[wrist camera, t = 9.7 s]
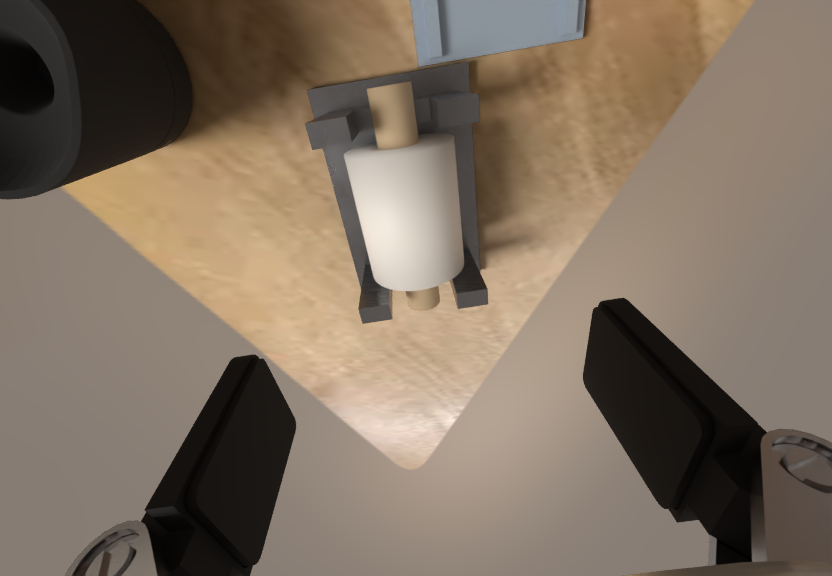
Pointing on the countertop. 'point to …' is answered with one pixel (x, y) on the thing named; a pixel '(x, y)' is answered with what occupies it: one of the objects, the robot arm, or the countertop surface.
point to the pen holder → (83, 90)
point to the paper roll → (407, 199)
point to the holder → (353, 126)
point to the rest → (491, 26)
